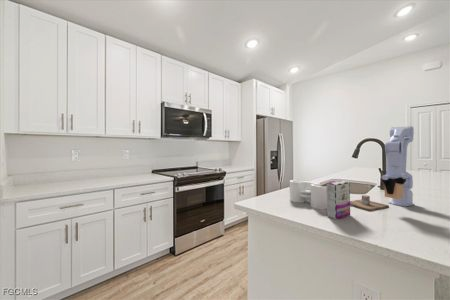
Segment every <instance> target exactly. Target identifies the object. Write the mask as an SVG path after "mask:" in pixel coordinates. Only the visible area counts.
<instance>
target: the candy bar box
mask: <svg viewBox="0 0 450 300" xmlns="http://www.w3.org/2000/svg"><path fill="white" fill-rule="evenodd" d="M326 187H327V209H326V216H327V217H328V218H330V219H334V220H339V219H343V218H346V217H349V216H351V206H350V201H351V182H350V181H346V180H337V181H331V182H326Z"/></svg>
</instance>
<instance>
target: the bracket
mask: <svg viewBox="0 0 450 300" xmlns="http://www.w3.org/2000/svg"><path fill="white" fill-rule="evenodd" d="M289 201H291V202H293V203H294V202H295V203H304V202H305V203H310V207H312V208H313V209H318V210H327V186H322V185H321V183H320V182H311V181H306V180H303V181H298V179H291V180H289Z"/></svg>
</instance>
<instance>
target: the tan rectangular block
mask: <svg viewBox="0 0 450 300" xmlns="http://www.w3.org/2000/svg"><path fill="white" fill-rule="evenodd" d="M384 197H385V198H391V199H392V198H394V199H400V198H403V184H397V183H396V184H395V186H394V192H393V194H387V190H386V187H385V186H384Z"/></svg>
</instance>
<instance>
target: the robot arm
mask: <svg viewBox="0 0 450 300" xmlns="http://www.w3.org/2000/svg"><path fill="white" fill-rule="evenodd" d="M414 133H415V132H414V127H413V126H412V125H410V126H396V127H392V126H391V127H390V128H389V136H390V139H389V140H388V142H385V144H384V150H385V157H386V173H385V174H384V175H382V176H381V182H382V184H383V185H384V188H385V187H386V190H387V194H393V192H394V186H395V184H396V183H397V184H403V198H400V199H394V198H391V199H392V201H388V203H389V204H392V205H396V206H400V207H408V206H415V203H414V201H413V200H414V198H413V195H414V194H413V191H412V189H413V183H414V182H413V181H414V180H413V175H412V173H409V172H408V171H407V163H408V162H407V158H408V147H409V144H410V143H412V142H413V140H414Z"/></svg>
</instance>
